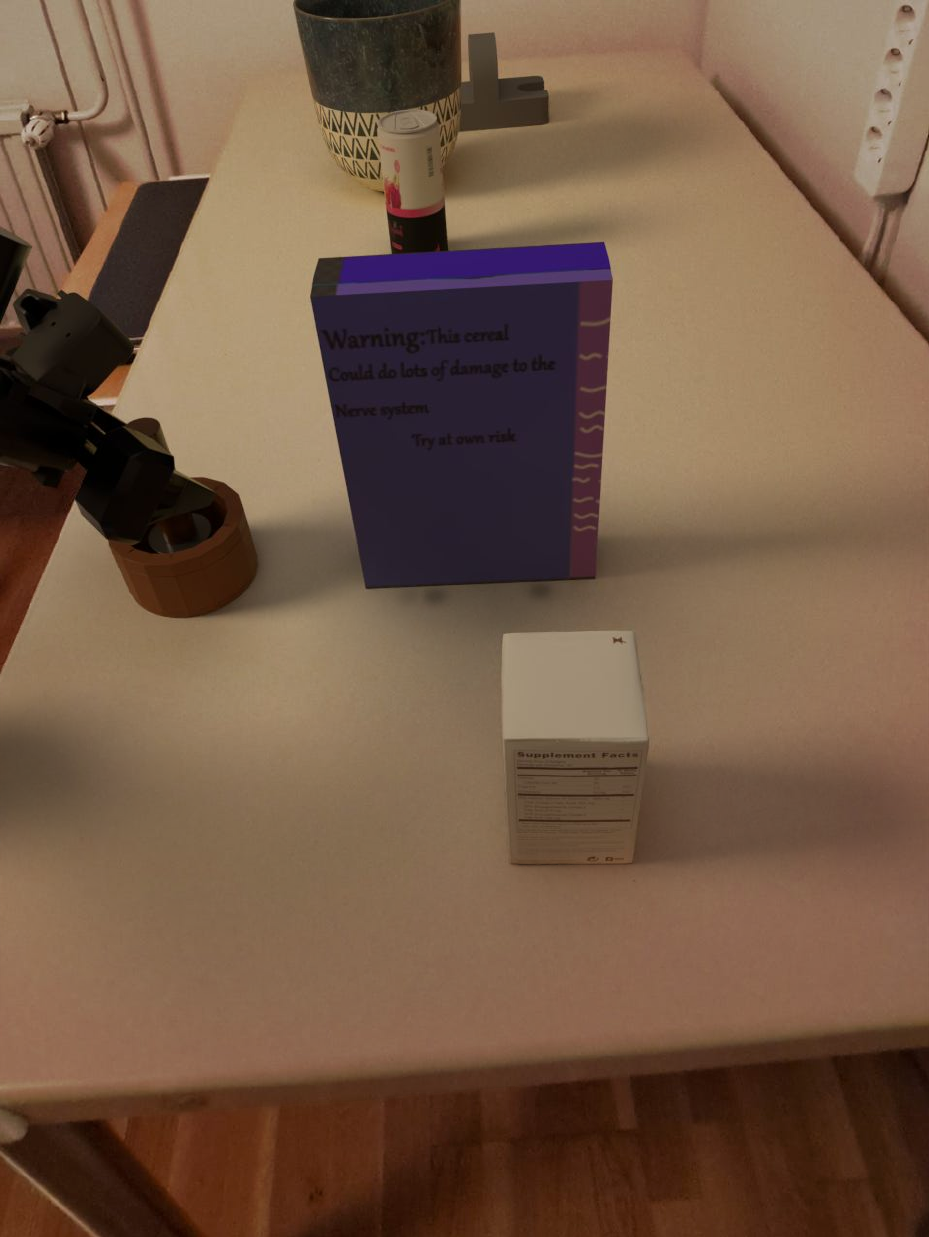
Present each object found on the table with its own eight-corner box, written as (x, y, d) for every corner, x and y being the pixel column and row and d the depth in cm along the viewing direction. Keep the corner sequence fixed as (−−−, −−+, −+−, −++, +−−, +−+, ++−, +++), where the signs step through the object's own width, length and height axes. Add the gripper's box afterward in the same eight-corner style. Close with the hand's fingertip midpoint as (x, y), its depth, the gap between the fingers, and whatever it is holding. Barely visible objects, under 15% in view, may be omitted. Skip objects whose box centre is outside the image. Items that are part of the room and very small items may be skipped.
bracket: (549, 123, 136) (549, 39, 128) (425, 134, 136) (418, 50, 128) (541, 101, 142) (541, 19, 135) (423, 111, 142) (417, 30, 135)
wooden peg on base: (211, 589, 71) (161, 450, 62) (152, 586, 72) (93, 448, 63) (230, 547, 75) (185, 408, 65) (173, 544, 75) (121, 407, 66)
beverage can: (396, 275, 106) (380, 135, 95) (388, 250, 111) (372, 113, 100) (453, 266, 107) (443, 126, 96) (443, 242, 111) (432, 105, 100)
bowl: (138, 633, 70) (113, 580, 66) (124, 550, 76) (101, 497, 72) (269, 595, 72) (253, 541, 68) (245, 517, 78) (229, 464, 74)
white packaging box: (506, 762, 60) (501, 627, 51) (624, 762, 59) (639, 625, 50) (505, 867, 55) (499, 738, 45) (634, 868, 54) (653, 738, 45)
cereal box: (589, 536, 74) (604, 238, 57) (595, 578, 71) (613, 276, 53) (370, 546, 75) (318, 255, 57) (365, 588, 71) (309, 293, 54)
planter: (447, 219, 116) (433, 19, 100) (301, 210, 120) (266, 18, 104) (486, 157, 128) (478, -28, 113) (353, 152, 133) (328, -28, 117)
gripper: (89, 333, 48) (302, 421, 61) (-47, 230, 58) (160, 324, 71) (7, 522, 51) (229, 569, 63) (-110, 391, 61) (102, 454, 74)
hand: (178, 470), depth 68 cm, fingers open, 9 cm apart
